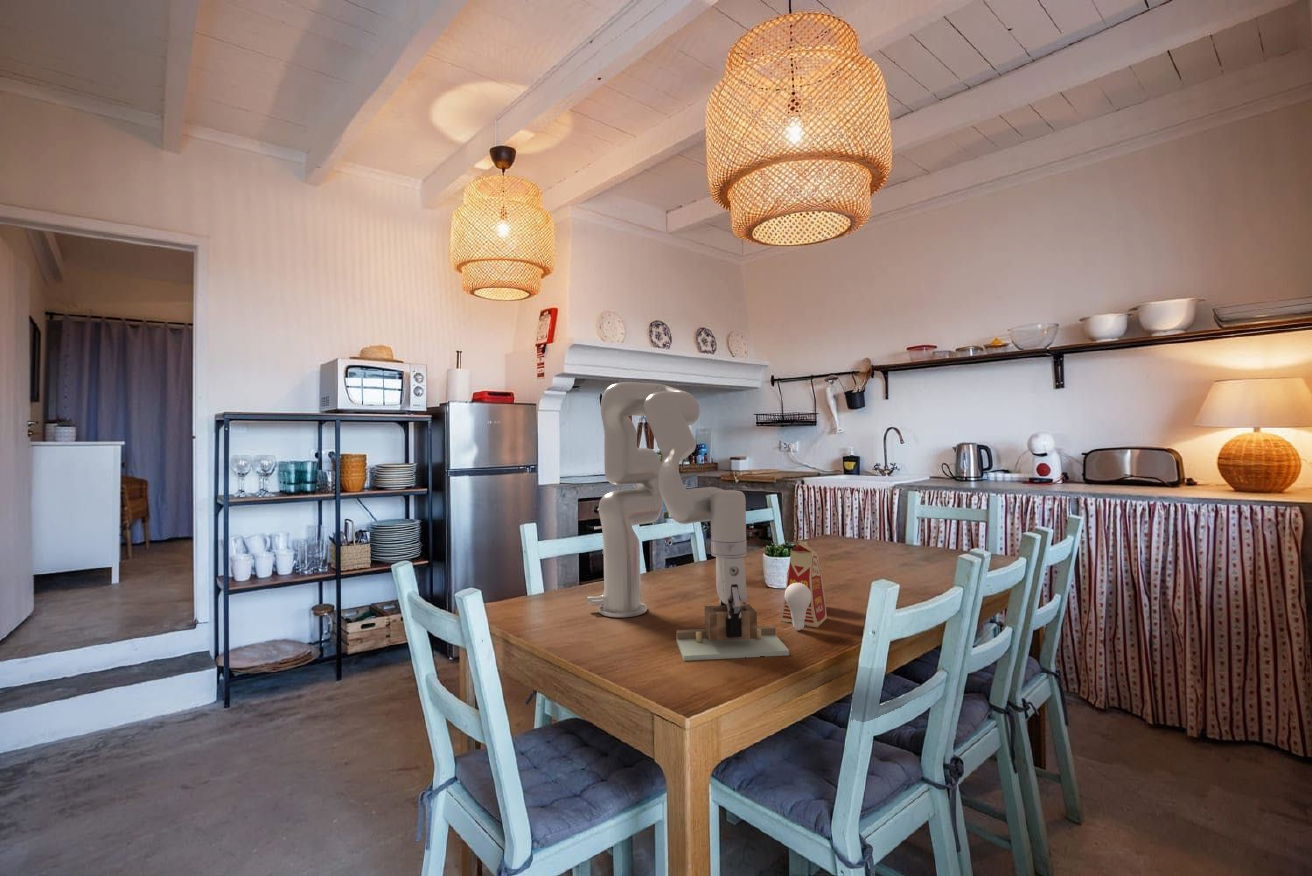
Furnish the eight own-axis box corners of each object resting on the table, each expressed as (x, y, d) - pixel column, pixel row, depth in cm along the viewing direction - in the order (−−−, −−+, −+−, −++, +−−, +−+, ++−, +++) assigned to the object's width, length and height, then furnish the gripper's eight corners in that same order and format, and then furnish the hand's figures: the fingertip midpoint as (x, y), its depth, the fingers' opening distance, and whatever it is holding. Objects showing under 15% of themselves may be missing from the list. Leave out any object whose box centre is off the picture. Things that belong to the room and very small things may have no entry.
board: (683, 660, 127) (683, 646, 127) (676, 641, 139) (676, 627, 139) (789, 655, 129) (789, 640, 129) (773, 636, 141) (773, 623, 141)
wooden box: (710, 640, 130) (709, 614, 130) (705, 631, 137) (704, 606, 137) (757, 638, 131) (756, 612, 131) (749, 629, 138) (749, 604, 138)
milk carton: (816, 627, 147) (815, 542, 147) (779, 621, 152) (778, 539, 152) (828, 617, 155) (826, 536, 155) (792, 612, 160) (791, 534, 159)
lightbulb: (794, 624, 149) (793, 578, 149) (817, 630, 145) (816, 582, 145) (779, 630, 145) (779, 583, 145) (802, 636, 141) (802, 587, 141)
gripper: (756, 555, 125) (757, 644, 126) (737, 540, 143) (738, 619, 143) (719, 556, 125) (720, 646, 125) (704, 541, 142) (706, 620, 142)
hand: (730, 630), depth 134 cm, fingers closed on wooden box, 6 cm apart
